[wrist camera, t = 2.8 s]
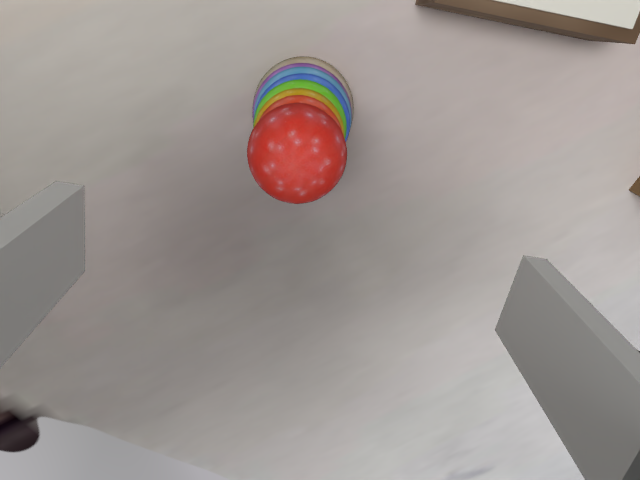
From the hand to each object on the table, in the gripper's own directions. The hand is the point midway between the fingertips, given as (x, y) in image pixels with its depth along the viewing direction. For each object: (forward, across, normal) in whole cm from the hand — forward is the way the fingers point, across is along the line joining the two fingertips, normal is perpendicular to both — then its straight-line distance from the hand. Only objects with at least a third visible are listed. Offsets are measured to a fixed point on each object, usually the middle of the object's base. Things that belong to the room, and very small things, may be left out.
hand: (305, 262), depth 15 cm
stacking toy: (+28, 0, 0) cm, 28 cm away
